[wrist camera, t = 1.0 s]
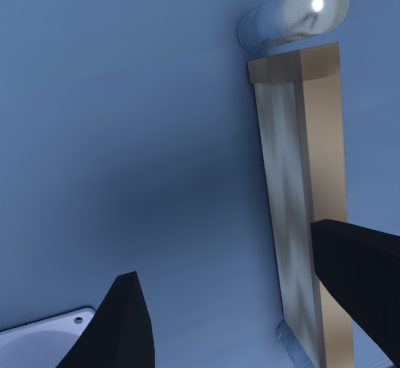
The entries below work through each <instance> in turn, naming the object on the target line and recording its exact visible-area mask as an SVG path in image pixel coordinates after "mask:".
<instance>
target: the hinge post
mask: <svg viewBox="0 0 400 368" xmlns="http://www.w3.org/2000/svg"><path fill="white" fill-rule="evenodd" d="M277 337H278V339H279V341H280V342H281V344H282V346H283V347H284V349H285V351H286V353H287V354H288V356H289V358H290V360H291V361H292V363H293V365H294V367H295V368H316V367H315V365H314V364H313V362H312V361H311V359H310V358H309V356H308V355H307V353H306V352H305V350H304V348H303V347H302V345H301V344H300V342H299V341H298V339H297V338H296V336H295V335H294V333H293V332H292V330H291V328H290V327H289V325H288V324H287V322H286V321H285V320H283V321H282V322H281V323H280V325H279V326H278V328H277Z"/></svg>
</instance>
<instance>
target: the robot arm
mask: <svg viewBox="0 0 400 368" xmlns="http://www.w3.org/2000/svg"><path fill="white" fill-rule="evenodd" d="M310 227H311V239H312V250H313V261H314V272H315V274H316V275H317V277H318V278H319V280H320V281H321V283H322V284H323V286H324V287H325V288H326V290H327V291H328V292H329V294H330V295H331V296H332V297H333V298H334V299H335V301H336V302H337V303H338V304H339V305H340V306H341V307H342V308H343V309H344V310H345V311H346V312H347V313H348V315H349V316H350V317H351V318H352V319H353V320H354V321H355V322H356V323H357V324H358V325H359V326H360V327H361V328H362V329H363V330H364V331H365V332H366V334H367V335H368V336H369V337H370V338H371V339H372V340H373V341H374V342H375V343H376V344H377V345H378V346H379V347H380V348H381V350H382V351H383V352H384V353H385V354H386V355H387V356H388V357H389V359H390V360H391V361H392V362H393V364H394V365H395V366H396V367H397V368H400V236H397V235H392V234H388V233H384V232H380V231H376V230H372V229H369V228H365V227H361V226H357V225H353V224H349V223H345V222H341V221H337V220H332V219H323V220H320V221H316V222H312V223H310ZM77 317H81V318H82V319H81V320H77V319H76V318H77ZM0 368H155V349H154V341H153V333H152V326H151V320H150V316H149V313H148V310H147V306H146V303H145V299H144V296H143V293H142V289H141V286H140V283H139V279H138V276H137V272H136V271H134V272H130V273H127V274H123V275H119V276H117V278H116V279H115V281H114V282H113V284H112V286H111V288H110V289H109V291H108V293H107V295H106V296H105V298H104V300H103V301H102V303H101V305H100V306H99V308H98V310H97V311H96V313H95V311H94V310H93V309H91V308H84V309H81V310H77V311H74V312H70V313H67V314H63V315H59V316H56V317H52V318H49V319H45V320H42V321H38V322H35V323H31V324H28V325H24V326H21V327H17V328H14V329H10V330H7V331H3V332H0Z"/></svg>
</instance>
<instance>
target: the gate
mask: <svg viewBox="0 0 400 368" xmlns="http://www.w3.org/2000/svg"><path fill="white" fill-rule="evenodd" d="M247 62H248V69H249V76H250V84H254V88H255V96H256V104H257V111H258V119H259V126H260V134H261V142H262V149H263V157H264V165H265V172H266V180H267V188H268V195H269V203H270V211H271V218H272V226H273V233H274V241H275V249H276V256H277V264H278V272H279V279H280V287H281V295H282V302H283V310H284V317H285V321H286V322H287V324H288V325H289V327H290V328H291V330H292V332H293V333H294V335H295V336H296V338H297V339H298V341H299V342H300V344H301V345H302V347H303V348H304V350H305V352H306V353H307V355H308V356H309V358H310V359H311V361H312V362H313V364H314V365H315V367H316V368H354V353H353V332H352V318H351V317H350V316H349V315H348V313H347V312H346V311H345V310H344V309H343V308H342V307H341V306H340V305H339V304H338V303H337V302H336V301H335V299H334V298H333V297H332V296H331V295H330V294H329V292H328V291H327V290H326V288H325V287H324V286H323V284H322V283H321V281H320V280H319V278H318V277H317V275H316V274H315V272H314V261H313V250H312V239H311V227H310V223H312V222H316V221H320V220H323V219H332V220H337V221H341V222H345V223H347V207H346V187H345V166H344V145H343V124H342V104H341V83H340V62H339V42H334V43H329V44H324V45H319V46H314V47H309V48H304V49H299V50H294V51H290V52H286V53H281V54H277V55H273V56H268V57H264V58H260V59H255V60H251V61H247Z"/></svg>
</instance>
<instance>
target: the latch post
mask: <svg viewBox="0 0 400 368" xmlns="http://www.w3.org/2000/svg"><path fill="white" fill-rule="evenodd" d="M349 4H350V0H270V1H268V2H267V3H265V4H263V5H262V6H260V7H259V8H257V9H256V10H254V11H252V12H251V13H249V14H248V15H246V16H245V17H244V18H243V19H242V20H241V21H240V23H239V26H238V30H237V36H238V40H239V43H240V44H241V46H242V47H243V48H244V49H245V50H247V51H250V52H258V51H262V50H265V49H269V48H272V47H276V46H279V45H283V44H286V43H290V42H293V41H296V40H300V39H303V38H307V37H310V36H314V35H317V34H321V33H324V32H328V31H331V30H333V29H334V28H336V27H337V26H338V25H339V24H340V23H341V22H342V21H343V20H344V18H345V16H346V14H347V12H348V9H349Z"/></svg>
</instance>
